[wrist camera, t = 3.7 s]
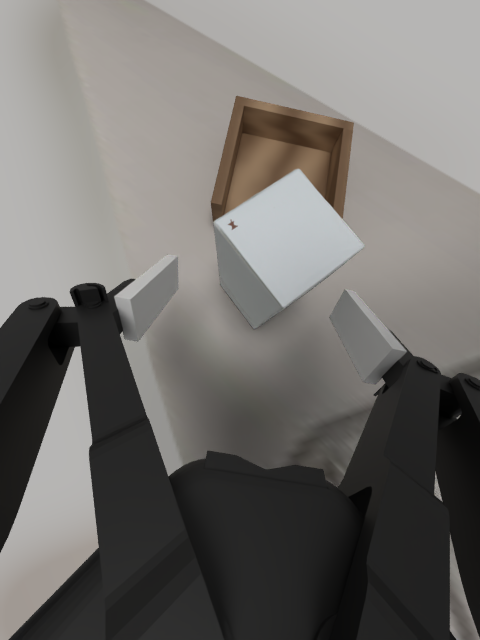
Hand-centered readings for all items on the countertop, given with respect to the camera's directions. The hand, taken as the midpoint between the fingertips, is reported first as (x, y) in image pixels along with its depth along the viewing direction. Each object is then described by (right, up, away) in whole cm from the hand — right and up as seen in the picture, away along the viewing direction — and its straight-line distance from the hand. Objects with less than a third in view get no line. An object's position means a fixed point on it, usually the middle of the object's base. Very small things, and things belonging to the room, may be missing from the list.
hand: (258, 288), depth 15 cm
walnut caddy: (+4, +16, +12) cm, 20 cm away
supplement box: (+1, +1, +10) cm, 10 cm away
